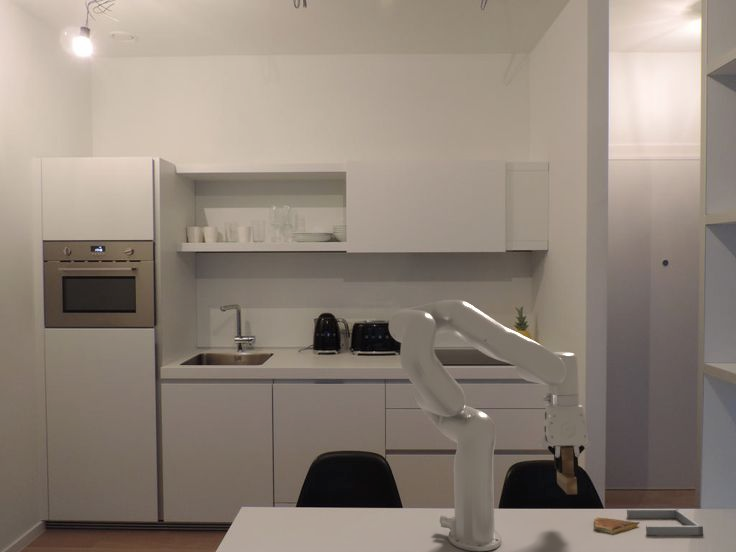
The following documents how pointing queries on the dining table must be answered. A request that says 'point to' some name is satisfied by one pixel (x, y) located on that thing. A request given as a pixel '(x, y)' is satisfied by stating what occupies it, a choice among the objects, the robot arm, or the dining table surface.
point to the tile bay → (689, 529)
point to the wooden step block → (567, 471)
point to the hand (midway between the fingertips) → (566, 470)
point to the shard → (613, 525)
